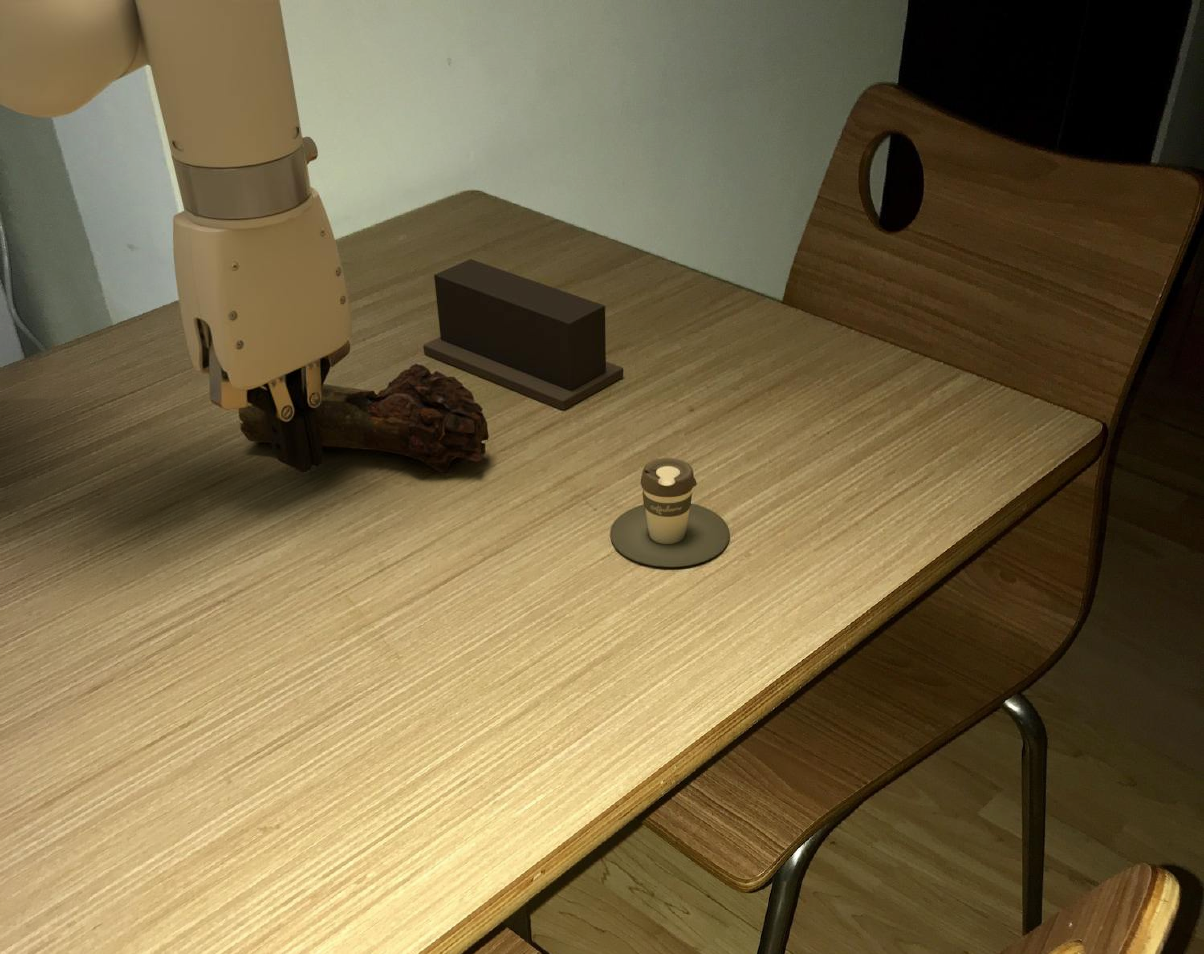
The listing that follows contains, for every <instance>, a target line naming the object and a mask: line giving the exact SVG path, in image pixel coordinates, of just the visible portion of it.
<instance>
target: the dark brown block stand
mask: <svg viewBox="0 0 1204 954" xmlns="http://www.w3.org/2000/svg"><path fill="white" fill-rule="evenodd" d="M433 277H434V287H435V297H436V308H437V316H438V325H439V334H440V335H439V337H437V338H434V339H432V340H431V341H428V342H426V343H424V344H423V345H422V346H423V347H422V348H423V354H424V355H425V356H429V357H431V358H433V359H436V360H439V361H440V362H443V363H445V364H448V365H450V366H453V367H455V368H458V369H460V370H463V371H465V372H468V373H470V374H473V375H475V376H478V377H480V378H483V379H485V380H487V381H490V382H493V383H494V384H497V385H500V386H502V387H504V388H507V389H509V390H512V391H515V392H517V393H519V394H522V395H524V396H527V397H529V398H532V399H534V400H537V401H539V402H541V403H544V404H546V405H549V406H552V407H554V408H556V409H559V410H562V411H565V410H567V409H569V408H571V407H573V406H574V405H576V404H578V403H580V402H581V401H583V400H584V399H587V398H588V397H591V396H593V395H594V394H596V393H597V392H599V391H601V390H603V389H605V388H606V387H608V386H610V385H611V384H613V383H615V382H617V381H619V380H620V379H623V378H624V367H622V366H619V365H617V364H613V363H611V362H609V361H607V353H606V352H607V351H606V350H607V348H606V347H607V345H606V342H607V341H606V340H607V339H606V305H604V304H601V303H598V302H597V301H596V302H595V301H592V300H590V299H587V298H584V297H582V296H578V295H575V294H572V293H570V292H567V291H564V290H561V289H558V288H555V287H553V286H550V285H546V284H544V283H541V282H539V281H535V280H532V279H529V278H526V277H525V276H524V277H523V276H521V275H518V274H515V273H512V272H509V271H506V270H504V269H500V268H497V267H495V266H492V265H490V264H486V263H483V262H481V261H477V260H474V259H473V258H469V259H466V260H464V261H462V262H460V263H458V264H456V265H453V266H450V267H449V268H446V269H443V270H442V271H439V272H437V273H435V274H434V275H433Z"/></svg>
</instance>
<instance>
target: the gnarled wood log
mask: <svg viewBox="0 0 1204 954" xmlns="http://www.w3.org/2000/svg"><path fill="white" fill-rule="evenodd" d="M316 413H317V418H318V424H319V429H320V435H321V447H335V448H346V449H347V448H348V449H362V450H372V451H383V452H387V453H392V454H398V455H401V456H406V457H409V458H412V459H415V460H419V461H422V462H423V463H425V464H426V465H428V466H430V467H431V468H433V469H434V470H437V471H439V472H441V473H447V472H448V470H449V466H450V465H451V463H452V460H455V459H456V458H457V457H458V458H466V459H467V460H470V461H477V462H478V461H482V458H483V456H484V455H485V454H486V443H484V442H483V441H488V440H489V439H490V435H489V429H488V422H487V419H486V417H485V415H484V412H483V408H482V406H481V405H480V404H479V403H478V402H476V401H475V398H474V394H473V393H472V391H471V390H469V389H468V388H466V387H465V386H464V385H463V383H462V382H460V380H457V378H456V377H455V376H446V374H443V373H442V372H439V371H437V370H435V371H434V372H433V373H431V371H430V369H429V368H427V367H426V366H424V365H423V364H422V365H421V364H418V363H414V364H412V365H410V367H409V368H408V369H403V371H401V372H400V373H399V374H398V375H397V377H395V378H394V379H392V381H390V382H388V385H387V387H386V388H384V389H381V390H379V391H378V393H377V394H376V392H375V390H367V389H361V388H356V387H355V388H354V387H344V386H339V385H333V384H332V385H331V384H325V383H323V385H322V402H321V404H320V405H319V406H318V407H317V408H316ZM238 418H239V420H240V421H241V422H239V426H240V428H239V429H240V431H241V433H242V435H244V437H245V438H246V439H247V441H249V442H256V443H271V441H270V436H269V432H268V427H267V422H266V418H265V413H264V412H263V411H261V410H259V409H257V408H256V407H254V406H252V405H251V406H247V407H245V408H239V409H238Z"/></svg>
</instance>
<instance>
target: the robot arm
mask: <svg viewBox="0 0 1204 954" xmlns="http://www.w3.org/2000/svg"><path fill="white" fill-rule="evenodd" d="M281 6H282V5H281V0H0V105H1V106H3V107H5V108H7V109H10V110H11V111H13V112H16V113H19V114H22V115H26V116H29V117H34V118H57V117H62V116H66V115H70V114H72V113H74V112H76V111H78V110H79V109H81V108H82V107H84V106H85V105H87V104H89V103H90V102H91V101H92V100H93V99H95V98H96V97H98V95H100V94H101V93H102V92H103V91H104V90H106V89H107V88H108V87H109V86H110V85H111V84H113V83H114V82H116V81H117V80H119V79H122V78H125V77H126V76H128V75H131V74H132V73H135V72H136V71H139V70H140V69H141V68H143V67H146V66H150V71H151V74H152V79H153V84H154V87H155V92H156V96H157V100H158V104H159V108H160V112H161V117H162V121H163V125H164V130H165V133H166V138H167V142H168V145H169V150H170V157H171V160H172V164H173V168H174V172H175V177H176V181H177V185H178V190H179V194H180V198H181V202H182V207H183V210H182V211H181V212H178V213H176V214H174V216H173V219H172V245H173V246H172V247H173V262H174V263H173V264H174V274H175V281H176V283H175V284H176V288H177V289H176V290H177V295H178V296H177V297H178V302H179V310H180V316H181V320H182V325H183V331H184V336H185V341H186V345H187V350H188V354H189V357H190V360H191V364H192V366H193V368H194V370H196V371H197V372H198V373H200V374H207V375H208V374H209V375H208V377H209V400H210V402H211V404H213V405H214V406H216V407H219V408H221V409H223V410H225V411H231V410H239V408H245V407H247V406H251V405H252V406H254V407H256V408H257V409H259V410H261V411H263V412H264V413H265V418H266V422H267V427H268V432H269V436H270V441H271V442H270V446H271V450H272V453H273V454H274V456H275V457H276V459H277V460H278V461H279V462H280V463H283V464H285V465H287V466H289V467H290V468H293V469H295V470H297V471H299V472H300V473H303V474H306V473H307V472H310V471H312V469H313V467H316V468H317V467H320V466H321V465H322V464H324V463H325V459H324V454H323V449H322V446H321V435H320V429H319V424H318V418H317V413H316V408H317V407H318V406H319V405H320V404H321V402H322V385H323V384H325V381H326V379H327V377H328V374H329V372H330V370H331V368H333V367H334V366H336V365H337V364H338V363H339V362H341V361H342V360H343V359H344V358H345V357H346V356H348V354H350V351H351V343H350V341H349V340H350V338H351V335H352V314H351V305H350V299H349V294H348V288H347V285H346V284H347V283H346V279H345V273H344V270H343V266H342V260H341V256H340V253H339V250H338V245H337V243H336V239H335V235H334V231H333V229H332V226H331V222H330V220H329V217H328V214H327V212H326V211H327V210H326V209H325V206H324V203H323V201H322V199H321V196H320V193H319V191H318V190H317V189H315V188H314V187H312V186H311V179H310V175H309V167H308V165H309V163H311V162H313V161H315V160H317V158H318V156H319V151H318V146H317V144H316V142H315V141H314V139H313V138H311V136H304V137H303V134H302V127H301V122H300V115H299V111H298V110H299V109H298V103H297V97H296V92H295V84H294V79H293V72H292V67H291V60H290V55H289V54H290V53H289V49H288V41H287V37H286V35H287V34H286V30H285V23H284V19H283V11H282V7H281Z"/></svg>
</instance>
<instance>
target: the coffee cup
mask: <svg viewBox="0 0 1204 954" xmlns="http://www.w3.org/2000/svg"><path fill="white" fill-rule="evenodd" d="M697 484H698V483H697V479H696V478H695V475H694V469H693V467H692V466H691V465H690V463H688V462H686V461H684V460H682V459H679V458H675V457H674V458H672V457H663V458H657V459H653V460H651V461H649V462H648V463H646V464H645V465H644V467H643V469H642V472H641V478H640V486H641V488H642V502H643V504H640V505H637V506H635V507H632V508H630V509H628V510H626V511H624V512H623V513H622V514H620V515H619V516H618V517H617V518H615V520H614V522H613V523H612V525H611V527H610V532H609V536H610V541H611V543H612V545H613V547H614V549H615V550H616V551H617V552H618V553H619V554H620V555H621V556H622V557H624V558H626V559H628V560H630V561H632V562H635V563H637V564H641V565H643V566H649V567H655V568H662V569H673V568H675V569H677V568H678V569H680V568H689V567H694V566H697V565H701V564H704V563H706V562H708V561H711V560H713V559H715V558H716V557H718V556H719V555H720V554H721V553H722V552H723V551H724V550H725V548H726V547H727V546H728V544H729V541H730V537H731V536H730V533H731V532H730V529H729V526H728V524H727V522H726V520H725V519H723V518H722V516H720V515H719V514H718V513H717V512H715V511H713V510H711V509H709V508H708V507H705V506H702V505H699V504H695V503H692V498H693V488H694V487H696V486H697Z"/></svg>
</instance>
